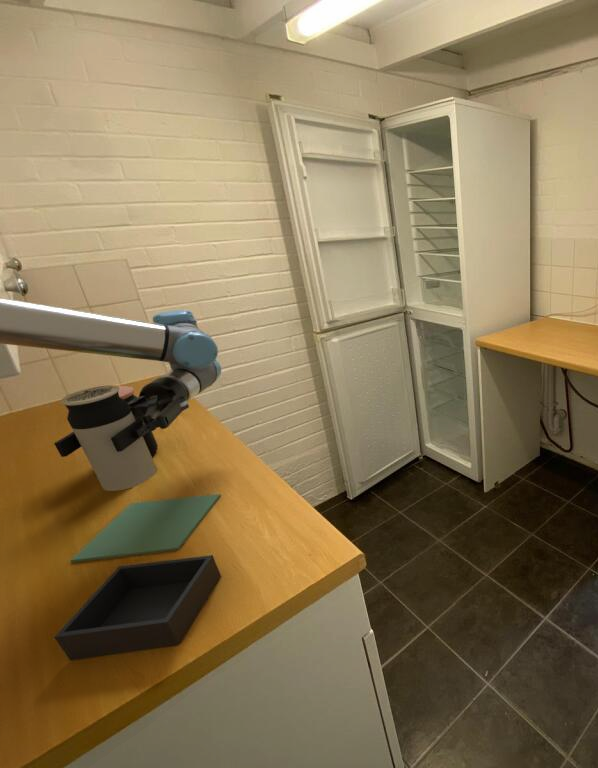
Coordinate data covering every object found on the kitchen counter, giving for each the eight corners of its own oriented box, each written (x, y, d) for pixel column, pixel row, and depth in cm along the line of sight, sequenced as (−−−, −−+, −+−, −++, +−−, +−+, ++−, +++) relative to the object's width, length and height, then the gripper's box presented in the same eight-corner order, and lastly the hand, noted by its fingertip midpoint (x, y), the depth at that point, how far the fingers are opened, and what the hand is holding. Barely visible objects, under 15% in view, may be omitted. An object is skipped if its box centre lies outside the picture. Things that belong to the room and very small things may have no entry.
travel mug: (161, 477, 79) (122, 392, 72) (105, 498, 74) (58, 408, 67) (154, 462, 85) (117, 380, 77) (101, 480, 79) (57, 394, 72)
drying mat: (71, 562, 76) (69, 560, 76) (132, 505, 90) (131, 502, 90) (178, 550, 78) (177, 547, 78) (221, 495, 92) (220, 493, 92)
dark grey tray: (69, 660, 59) (53, 637, 57) (130, 587, 70) (118, 566, 68) (179, 645, 61) (167, 622, 59) (221, 576, 72) (212, 554, 70)
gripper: (225, 403, 94) (162, 459, 74) (125, 411, 92) (31, 472, 71) (215, 372, 91) (146, 422, 71) (111, 380, 89) (8, 434, 68)
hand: (88, 447), depth 71 cm, fingers closed on travel mug, 8 cm apart
